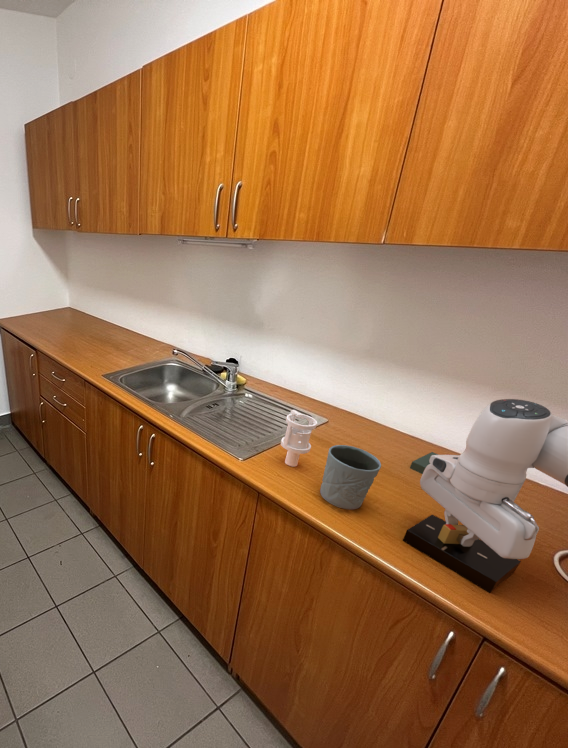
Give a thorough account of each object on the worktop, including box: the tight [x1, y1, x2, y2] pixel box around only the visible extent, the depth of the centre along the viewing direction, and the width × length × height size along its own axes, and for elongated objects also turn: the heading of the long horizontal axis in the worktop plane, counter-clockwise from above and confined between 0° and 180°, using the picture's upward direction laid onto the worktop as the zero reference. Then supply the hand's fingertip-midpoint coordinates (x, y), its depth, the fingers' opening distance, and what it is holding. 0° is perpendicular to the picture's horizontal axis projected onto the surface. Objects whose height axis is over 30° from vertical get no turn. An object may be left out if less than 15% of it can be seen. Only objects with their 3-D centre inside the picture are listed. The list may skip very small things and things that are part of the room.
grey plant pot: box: [319, 444, 382, 510], centre depth 94 cm, size 10×10×12 cm
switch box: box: [409, 451, 439, 475], centre depth 103 cm, size 12×10×4 cm
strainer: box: [280, 409, 318, 468], centre depth 106 cm, size 7×7×15 cm
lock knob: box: [438, 524, 469, 544], centre depth 79 cm, size 6×2×4 cm, turn 87°
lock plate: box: [402, 514, 522, 594], centre depth 79 cm, size 14×10×3 cm
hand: (456, 537), depth 79 cm, fingers closed on lock knob, 2 cm apart
